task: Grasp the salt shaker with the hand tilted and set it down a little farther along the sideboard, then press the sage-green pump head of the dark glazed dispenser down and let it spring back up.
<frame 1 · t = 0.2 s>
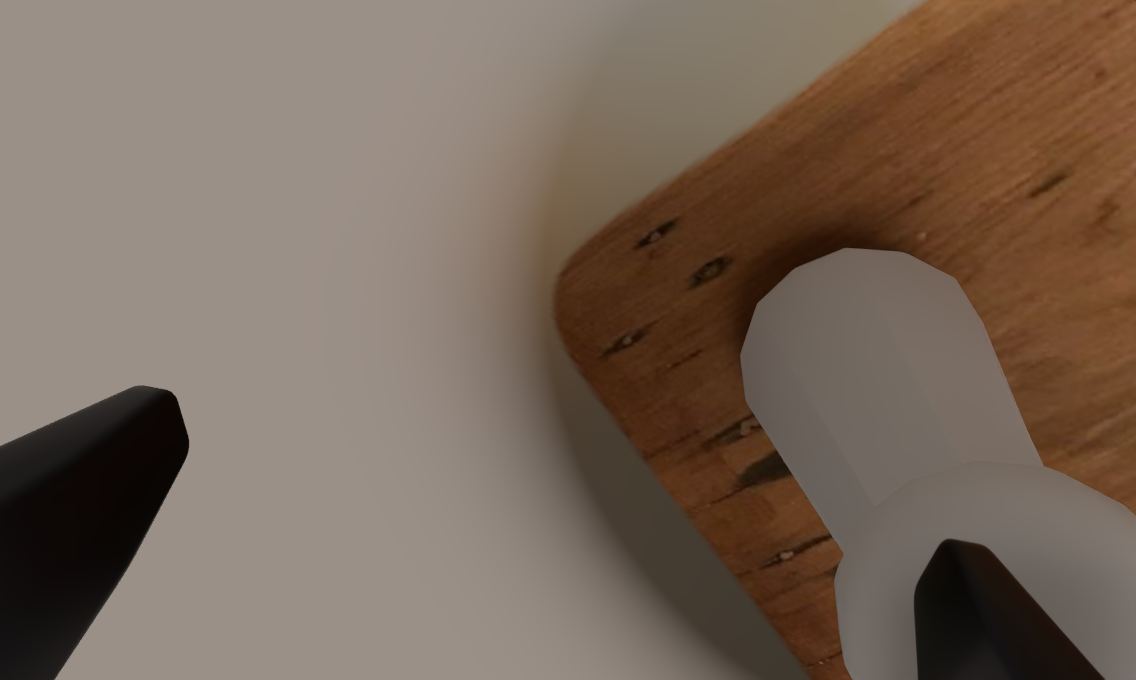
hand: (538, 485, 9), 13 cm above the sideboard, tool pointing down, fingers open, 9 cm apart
salt shaker: (839, 328, 21), on the sideboard
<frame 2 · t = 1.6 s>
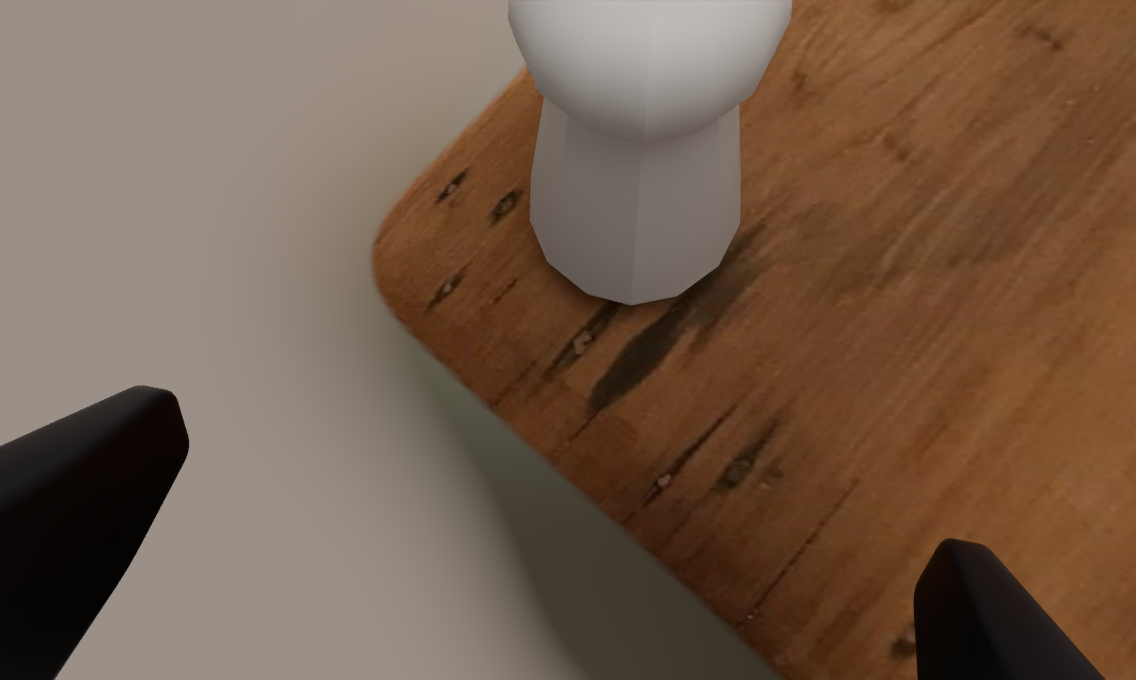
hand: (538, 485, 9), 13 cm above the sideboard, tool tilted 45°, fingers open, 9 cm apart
salt shaker: (632, 228, 23), on the sideboard
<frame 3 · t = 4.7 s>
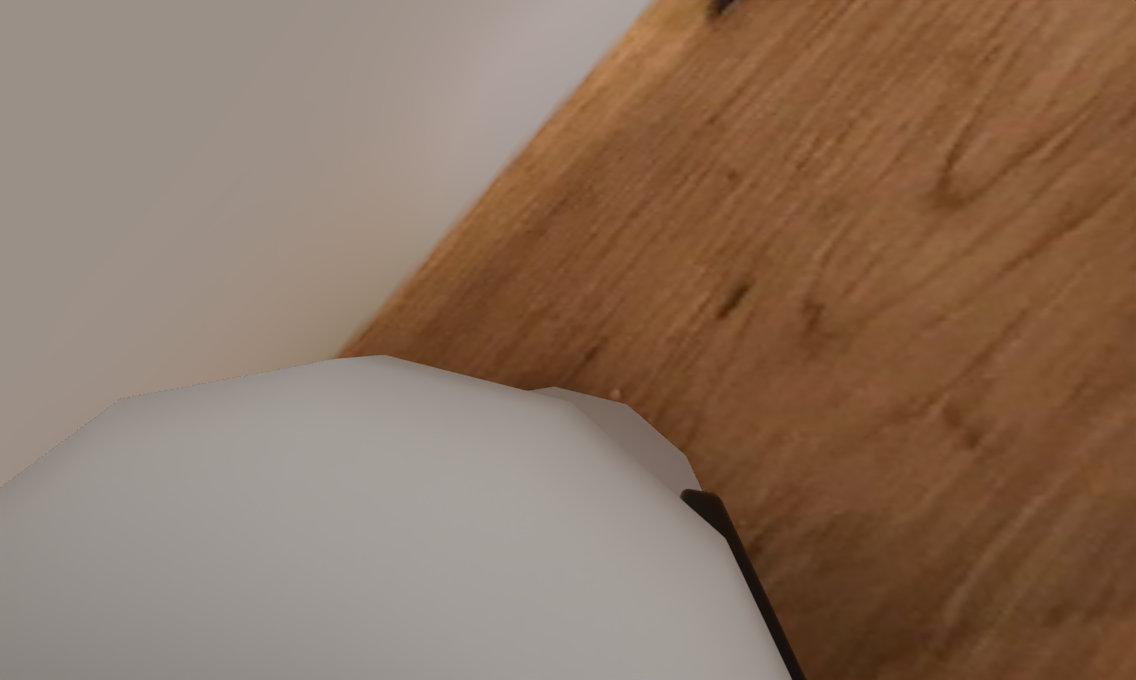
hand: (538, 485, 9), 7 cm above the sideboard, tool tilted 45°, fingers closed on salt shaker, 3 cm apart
salt shaker: (559, 544, 15), on the sideboard, touching gripper
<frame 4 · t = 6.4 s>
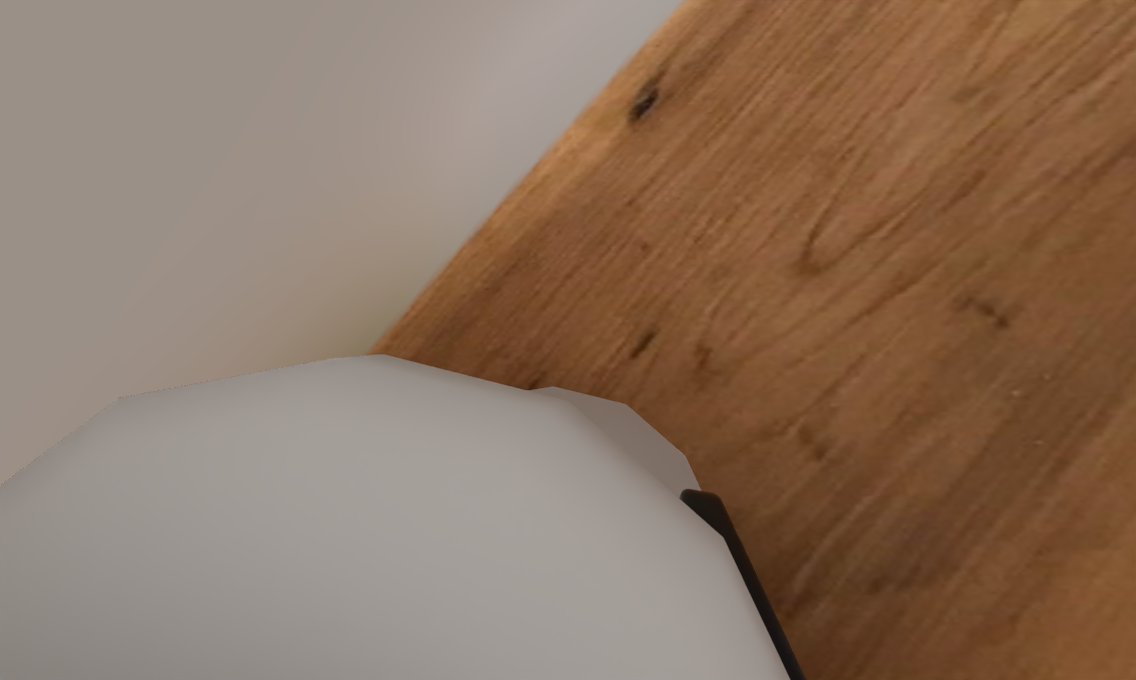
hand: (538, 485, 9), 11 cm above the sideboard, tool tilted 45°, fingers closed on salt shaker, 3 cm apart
salt shaker: (559, 543, 15), point 5 cm above the sideboard, touching gripper
when the fingers open (7 cm above the sideboard, at t = 8.5 s): salt shaker stays where it is, on the sideboard.
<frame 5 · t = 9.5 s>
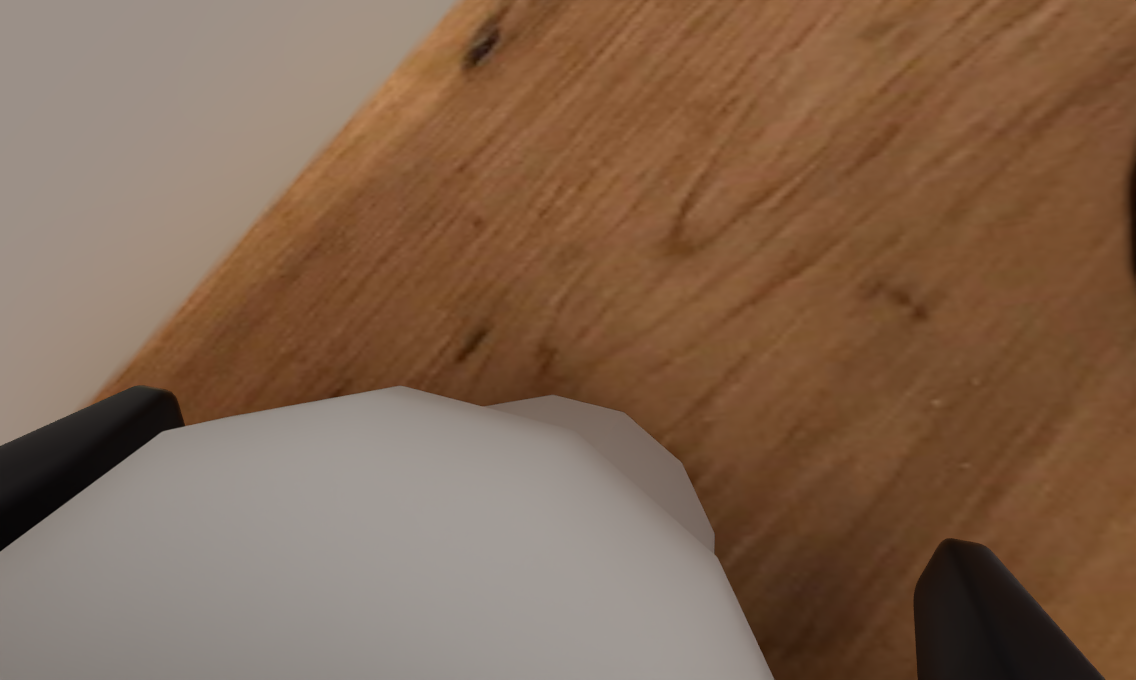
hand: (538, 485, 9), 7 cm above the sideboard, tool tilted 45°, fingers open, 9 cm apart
salt shaker: (558, 548, 16), on the sideboard
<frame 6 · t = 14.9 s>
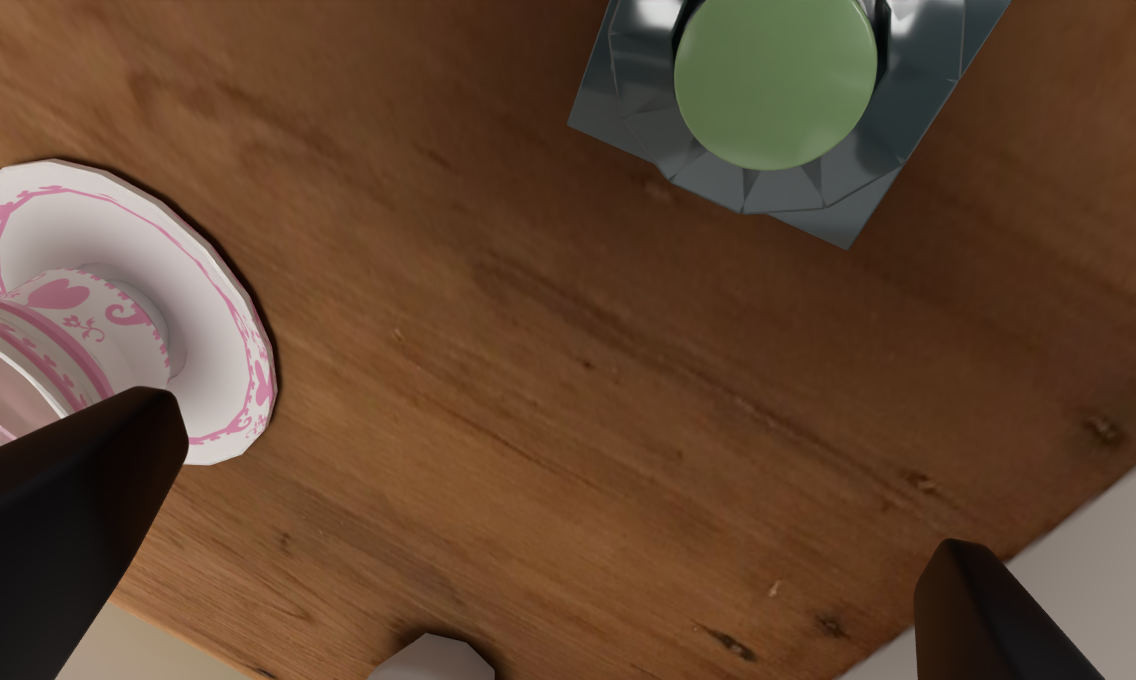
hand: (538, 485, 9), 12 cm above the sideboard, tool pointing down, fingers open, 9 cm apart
teacup: (133, 319, 27), on the sideboard
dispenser: (782, 25, 16), on the sideboard
dispenser pump: (774, 63, 13), point 4 cm above the sideboard, slide at 0.1 cm
salt shaker: (452, 662, 32), on the sideboard
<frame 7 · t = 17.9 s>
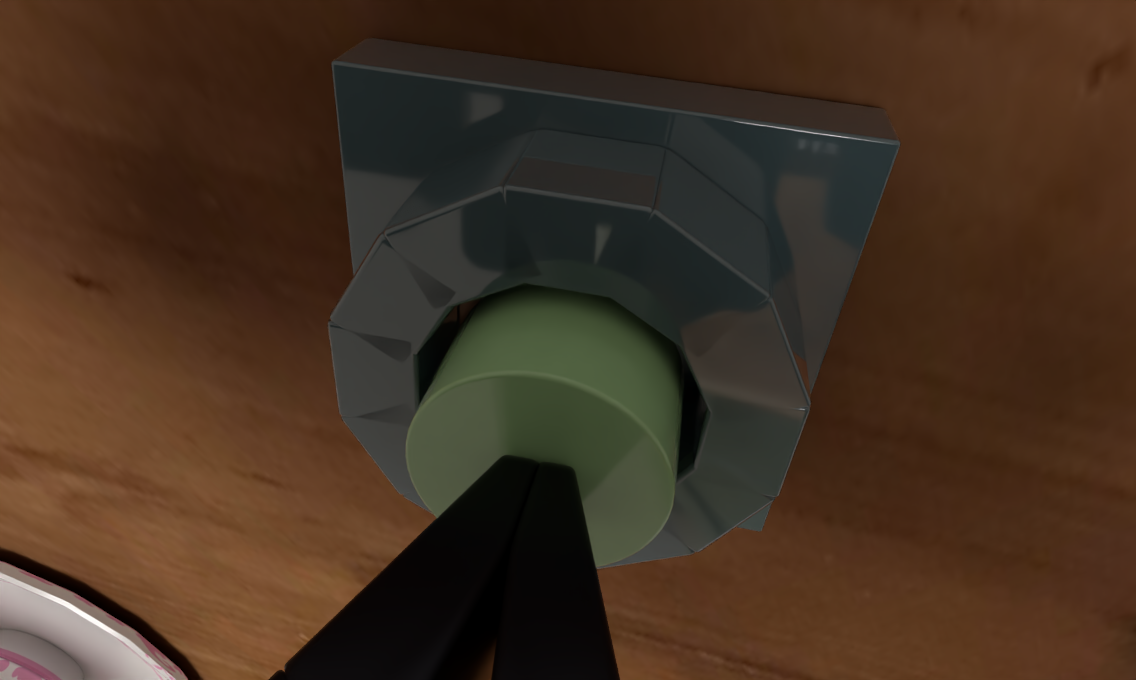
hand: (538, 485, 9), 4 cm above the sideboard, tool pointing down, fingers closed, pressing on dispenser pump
teacup: (41, 655, 24), on the sideboard
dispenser: (591, 291, 12), on the sideboard
dispenser pump: (553, 423, 10), point 3 cm above the sideboard, slide at -0.3 cm, touching gripper
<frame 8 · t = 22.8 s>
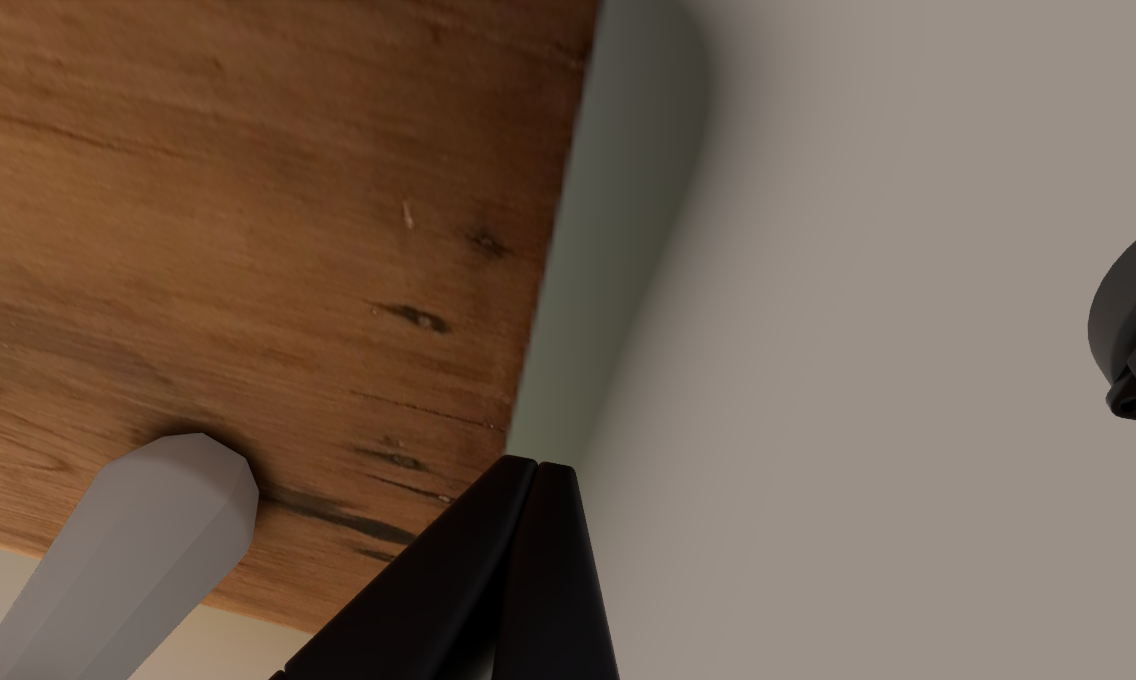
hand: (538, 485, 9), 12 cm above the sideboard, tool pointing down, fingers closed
salt shaker: (211, 467, 29), on the sideboard
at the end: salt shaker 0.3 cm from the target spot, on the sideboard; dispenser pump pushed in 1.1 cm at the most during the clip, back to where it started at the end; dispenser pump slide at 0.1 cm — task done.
